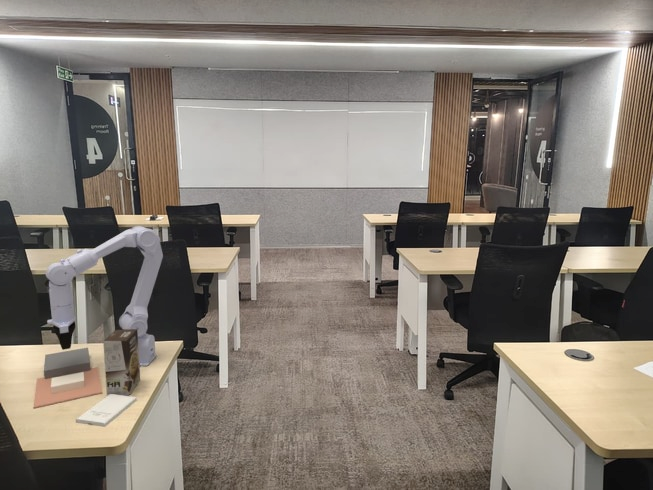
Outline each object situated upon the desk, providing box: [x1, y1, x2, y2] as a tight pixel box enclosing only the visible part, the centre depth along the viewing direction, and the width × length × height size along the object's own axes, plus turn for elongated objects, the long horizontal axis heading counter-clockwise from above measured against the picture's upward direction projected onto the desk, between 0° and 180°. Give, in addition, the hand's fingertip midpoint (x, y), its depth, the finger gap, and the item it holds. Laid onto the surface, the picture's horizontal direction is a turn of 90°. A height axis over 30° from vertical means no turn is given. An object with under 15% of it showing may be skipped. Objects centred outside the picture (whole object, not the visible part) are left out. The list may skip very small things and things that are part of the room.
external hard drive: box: [75, 394, 137, 427], centre depth 113 cm, size 2×8×12 cm
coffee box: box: [102, 329, 141, 397], centre depth 123 cm, size 9×6×16 cm
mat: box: [32, 366, 103, 409], centre depth 125 cm, size 18×16×1 cm
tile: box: [51, 372, 85, 394], centre depth 124 cm, size 6×8×2 cm
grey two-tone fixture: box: [43, 347, 92, 379], centre depth 137 cm, size 13×12×3 cm
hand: (66, 348), depth 128 cm, fingers closed
